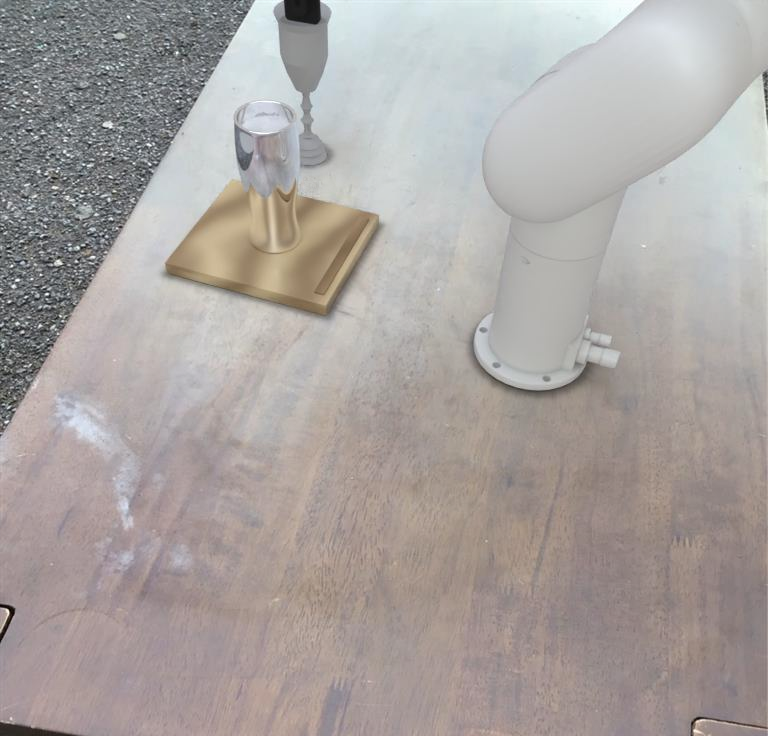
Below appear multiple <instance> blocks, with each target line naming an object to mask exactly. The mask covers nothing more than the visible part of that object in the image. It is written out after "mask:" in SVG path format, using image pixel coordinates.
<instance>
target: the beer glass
mask: <svg viewBox="0 0 768 736" xmlns="http://www.w3.org/2000/svg"><path fill="white" fill-rule="evenodd" d="M233 129H234V131H233V133H234V134H233V135H234V149H235V158H236V163H237V170H238V173H239V177H240V181H242V185H243V188H244V191H245V194H246V197H247V200H248V204H249V208H250V213H251V225H250V241H251V243H252V244H253V246H254V247H256V248H257V249H259V250H261V251H263V252H267V253H283V252H286V251H289V250H291V249H293V248H294V247H296V246H297V245H298V243H299V242H300V239H301V232H300V228H299V224H298V221H297V216H296V200H297V195H298V192H299V191H298V190H299V183H300V176H301V164H300V144H299V129H298V122H297V114H296V111H295V110H294V109H293V107H291V106H290V105H288V104H286V103H285V102H282V101H278V100H271V99H260V100H254V101H250V102H247V103H245V104H243V105H241V106H239V107H238V108H237V109H236V110H235V111H234V113H233Z"/></svg>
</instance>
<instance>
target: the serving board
mask: <svg viewBox="0 0 768 736" xmlns="http://www.w3.org/2000/svg"><path fill="white" fill-rule="evenodd" d="M296 216H297V221H298V224H299V228H300V232H301V239H300V242H299V243H298V245H297V246H296V247H294V248H293V249H291V250H289V251H286V252H283V253H267V252H263V251H261V250H259V249H257V248H256V247H254V246H253V244H252V243H251V241H250V225H251V213H250V208H249V204H248V200H247V197H246V194H245V191H244V188H243V185H242V181H241V180H238V179H234V178H231V179H230V181H229V182H228V183H227V185H225V187H224V188H223V190H222V191H221V192H220V193H219V194H218V196H216V198H215V199H214V201H213V202H212V203H211V205H210V206H209V207H208V208H207V210H206V211H205V212H204V213H203V215H202V216H201V217H200V218H199V220H198V221H197V222H196V223H195V224H194V226H193V227H192V229H191V230H189V232H188V233H187V235H186V236H185V237H184V238H183V239H182V241H181V242H180V243H179V245H178V246H177V247H176V249H174V250H173V252H172V253H171V255H170V256H169V257H168V258H167V260H166V261H165V262H164V264H165V269H166V274H168V275H172V276H176V277H179V278H183V279H188V280H191V281H195V282H199V283H203V284H207V285H209V286H214V287H218V288H221V289H225V290H227V291H228V290H229V291H232V292H236V293H240V294H243V295H248V296H250V297H253V298H254V297H255V298H258V299H262V300H266V301H270V302H273V303H277V304H281V305H285V306H288V307H292V308H296V309H300V310H302V311H306V312H307V311H308V312H309V313H310V312H311V313H314V314H319V315H322V316H326V317H327V315H328V313H329V311H331V308H332V306H333V305H334V304H335V301H336V300H337V298H338V297H339V294H340V292H341V291H342V290H343V287H344V286H345V284H346V283H347V281H348V279H349V277H350V276H351V274H352V272H353V270H354V268H355V267H356V265H357V264H358V262H359V260H360V258H361V256H362V255H363V254H364V251H365V250H366V248H367V246H368V245H369V243H370V241H371V239H372V238H373V236H374V234H375V233H376V230H377V229H378V227H379V226H380V214H378V213H374V212H370V211H365V210H361V209H357V208H353V207H349V206H345V205H341V204H336V203H332V202H329V201H324V200H320V199H317V198H312V197H308V196H304V195H299V194H297V200H296Z"/></svg>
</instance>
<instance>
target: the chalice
mask: <svg viewBox="0 0 768 736" xmlns="http://www.w3.org/2000/svg"><path fill="white" fill-rule="evenodd" d="M320 8H321V20H320V22H319V23H318V24H317V25H313V24H308V23H302V22H296V21H290V20H288V19H287V18H286V17H285V9H284V0H282V1H280V2H278V3H277V4H276V5H275V6H274V7H273V10H272V12H273V13H272V14H273V16H274V18H275V20H276V22H277V28H278V42H279V43H278V44H279V55H280V58H281V61H282V64H283V66H284V69H285V72H286V73H287V76H288V77H289V80H290V81H291V83H292V85H293V87H294V89H295V90H296V92H299V93H301V96H302V101H301V104H300V108H301V110H302V113H303V115H302V117H301V118H300V122H301V124H302V125H303V128H304V129H303V132H302V133H300V134H298V136H299V144H300V166H301V165H302V166H315V165H320V164H321V163H323V162H325V161H326V159H327V158H328V153H327V150H326V149H325V145H324V144H323V141H322V139H321V138H320V137H319V136H318V134H316V133H314V132H312V124H313V123H314V117H312V115H311V111H312V108H313V106H314V105H313V103H312V102H311V98H310V95H311V93H313V92H315V91H316V90H317V88H318V86H319V83H320V81H321V79H322V77H323V74H324V72H325V69H326V65H327V62H328V58H329V31H328V28H329V21H330V20H331V17H332V10H331V8H330V7H329V6H328V4H326V3H324V2H322V1H320Z"/></svg>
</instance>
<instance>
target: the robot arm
mask: <svg viewBox="0 0 768 736" xmlns="http://www.w3.org/2000/svg"><path fill="white" fill-rule="evenodd" d="M283 1H284V9H285V17H286V18H287V19H288V20H290V21H296V22H302V23H308V24H313V25H317V24H318V23H319V22H320V20H321V8H320V2H321V0H283ZM766 71H768V0H643V1H642V2H641V3H639V5H637V7H635V8H634V9H633V10H632V11H631V12H629V14H628V15H626V16H625V17H624V18H623V19H622V20H621V21H619V22H618V23H617V24H616V25H615V26H614V27H612V29H610V30H609V31H608V32H607V33H605V34H604V35H603V36H602V37H600V38H599V39H598V40H597V41H595V42H593V43H589V44H586V45H583V46H581V47H578V48H576V49H574V50H573V51H570V52H569V53H568V54H566V55H565V56H563V57H562V58H560V59H559V60H557V62H556V63H555V64H553V65H552V66H551V67H550V68H549V69H548V70H547V71H545V72H544V73H543V74H542V75H541V76H540V77H538V78H537V80H535V81H534V83H532V84H531V85H530V86H529V87H528V88H527V89H526V90H525V91H524V92H523V93H522V94H520V96H518V97H517V98H516V99H515V100H514V101H512V102H511V104H509V106H508V107H506V108H505V109H504V110H503V111H502V112H501V113H500V115H498V116H497V118H496V119H495V121H494V122H493V124H492V126H490V129H489V131H488V133H487V136H486V138H485V141H484V145H483V149H482V150H483V151H482V156H481V169H482V176H483V181H484V185H485V188H486V190H487V191H488V194H489V196H490V198H491V199H492V201H493V202H494V203H495V204H496V205H497V207H499V209H500V210H502V211H503V212H504V213H506V214H507V215H508V216H510V222H509V226H508V230H507V231H508V232H507V237H506V243H505V248H504V253H503V258H502V262H501V263H502V265H501V269H500V273H499V280H498V285H497V290H496V296H495V300H494V307H493V310H492V312H490V313H488V314H487V315H486V316H484V318H482V319H481V321H480V322H479V323H478V325H477V326H476V329H475V332H474V337H473V342H472V344H473V353H474V355H475V359H476V360H477V361H478V363H479V364H480V366H481V367H482V368H483V369H484V370H485V371H486V372H487V373H488V374H489V375H491V376H492V377H493V378H495V380H498V381H499V382H502V383H503V384H505V385H508V386H511V387H514V388H516V389H517V388H518V389H521V390H527V391H549V390H554V389H558V388H562V387H564V386H566V385H569V384H571V383H572V382H573V381H574V380H575V381H576V380H577V378H579V377H580V376H581V374H582V373H583V372H584V370H585V367H586V366H587V364H588V362H589V363H591V364H592V363H593V364H596V365H598V366H600V367H603V368H608V369H611V370H616V367H617V365H618V362H619V359H620V356H621V351H619V350H615V349H612V348H610V346H611V343H612V340H613V335H610V334H607V333H602V332H595V331H593V330H592V327H591V328H590V327H587V325H588V322H589V318H590V314H589V313H588V311H589V308H590V305H591V301H592V298H593V295H594V293H595V288H596V285H597V282H598V280H599V279H598V278H599V276H600V272H601V268H602V266H603V262H604V259H605V256H606V253H607V250H608V246H609V244H610V242H611V241H610V240H611V238H612V235H613V231H614V228H615V225H616V222H617V218H618V216H619V212H620V210H621V207H622V204H623V201H624V199H625V197H626V193H627V191H628V188H629V187H630V186H632V185H633V184H635V183H637V182H639V181H641V180H642V179H644V178H646V177H648V176H650V175H651V174H653V173H655V172H656V171H659V170H661V169H662V168H664V167H666V166H667V165H669V164H670V163H672V162H674V161H676V159H679V158H680V157H681V156H683V155H684V154H686V153H687V152H689V151H690V150H691V149H692V148H694V147H695V146H696V145H697V144H699V142H701V141H702V140H703V139H705V137H706V136H708V134H710V133H711V132H712V130H713V129H714V128H715V127H716V126H718V124H719V122H720V121H721V120H722V119H723V118H724V116H725V115H726V114H727V113H728V112H729V110H730V109H731V108H732V106H733V105H734V104H735V103H736V102H737V101H738V100H739V98H740V97H741V96H742V95H743V94H744V93H745V91H746V90H747V89H748V88H749V87H750V86H751V85H752V83H754V81H755V80H757V78H758V77H760V76H761V75H763V74H764V73H765V72H766Z"/></svg>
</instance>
